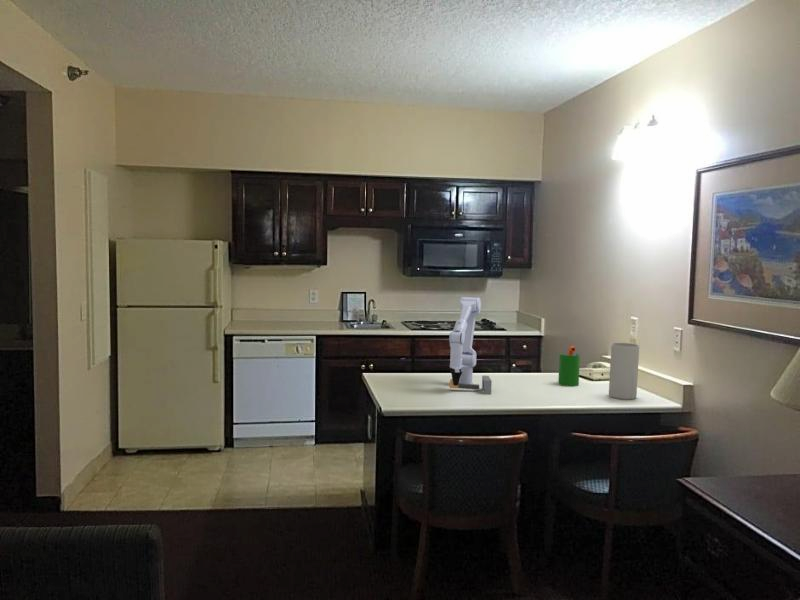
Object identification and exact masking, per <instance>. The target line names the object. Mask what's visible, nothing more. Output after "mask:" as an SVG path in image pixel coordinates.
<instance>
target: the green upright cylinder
mask: <svg viewBox="0 0 800 600" xmlns="http://www.w3.org/2000/svg"><path fill="white" fill-rule="evenodd" d="M574 352H576V346H569V347H568V354H562V353H558V354H559V356H558V358H559V360H558V378H557V379H558V381H557V382H558V385H560V386H565V387H578V386H579V385H580V361H581V354H579V353H575V354H574Z"/></svg>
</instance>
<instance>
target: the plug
mask: <svg viewBox="0 0 800 600" xmlns="http://www.w3.org/2000/svg"><path fill="white" fill-rule="evenodd" d="M449 388H450V389H461V390H462V389H463V390H464V389H465V390H466V389H467V390H480V384H478V383H476V384H475V383H473V384H464V383H459V384H458V386H456V385H454V384H453V379H452V378H450V379H449Z"/></svg>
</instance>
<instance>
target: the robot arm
mask: <svg viewBox="0 0 800 600" xmlns="http://www.w3.org/2000/svg"><path fill="white" fill-rule="evenodd" d="M459 308H460V310H461V311H460V314H459V318H458V319H457V320H456V322H455V323H454V326H453V330H452V331H451V332H450V333H449V337H448V340H449V341H448V342H449V347H450V359H449V360H450V361H449V372H450V375H451V379H453V384H454V385H456V386H458V384H459V383H464V384H474V383H473V374H474V373H473V371H474V370H473V369H474V367H476V366H477V352H476V350H474V348H473V341H474V334H475V326H476V320H477V316H479V315H480V313H481V308H482V301H481V298H480V297H471V296H470V297H468V296H461V297H460V299H459Z"/></svg>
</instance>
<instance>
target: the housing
mask: <svg viewBox="0 0 800 600" xmlns="http://www.w3.org/2000/svg"><path fill="white" fill-rule="evenodd" d="M481 378H482V379H481V380H482V381H481V389H482V390H483V393H484V394H485V395H492V382H493V381H492V379H491V377H490V375H482V376H481Z"/></svg>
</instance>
